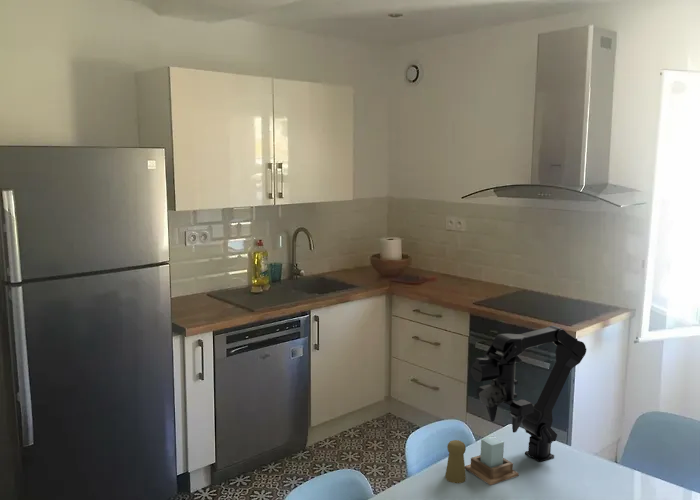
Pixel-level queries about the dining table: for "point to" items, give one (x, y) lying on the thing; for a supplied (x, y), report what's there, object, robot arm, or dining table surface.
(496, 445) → the painted peg
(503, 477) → the walnut socket
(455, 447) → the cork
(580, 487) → the dining table surface
